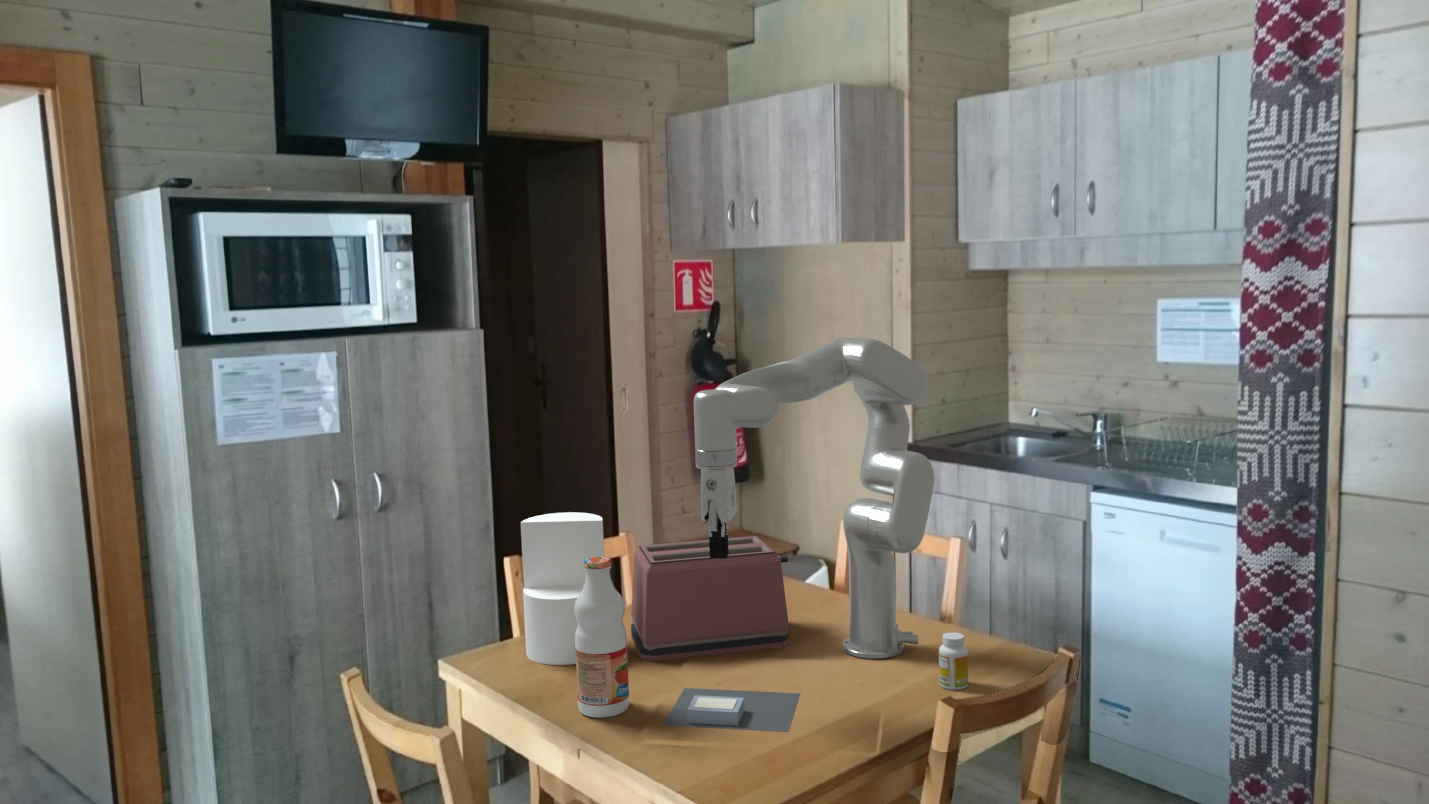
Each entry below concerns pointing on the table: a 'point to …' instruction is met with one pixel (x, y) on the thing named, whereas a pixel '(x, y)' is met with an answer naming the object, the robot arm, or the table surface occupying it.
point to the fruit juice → (601, 644)
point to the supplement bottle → (953, 662)
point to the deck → (715, 710)
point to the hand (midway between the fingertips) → (719, 556)
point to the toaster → (707, 599)
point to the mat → (758, 709)
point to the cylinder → (556, 580)
